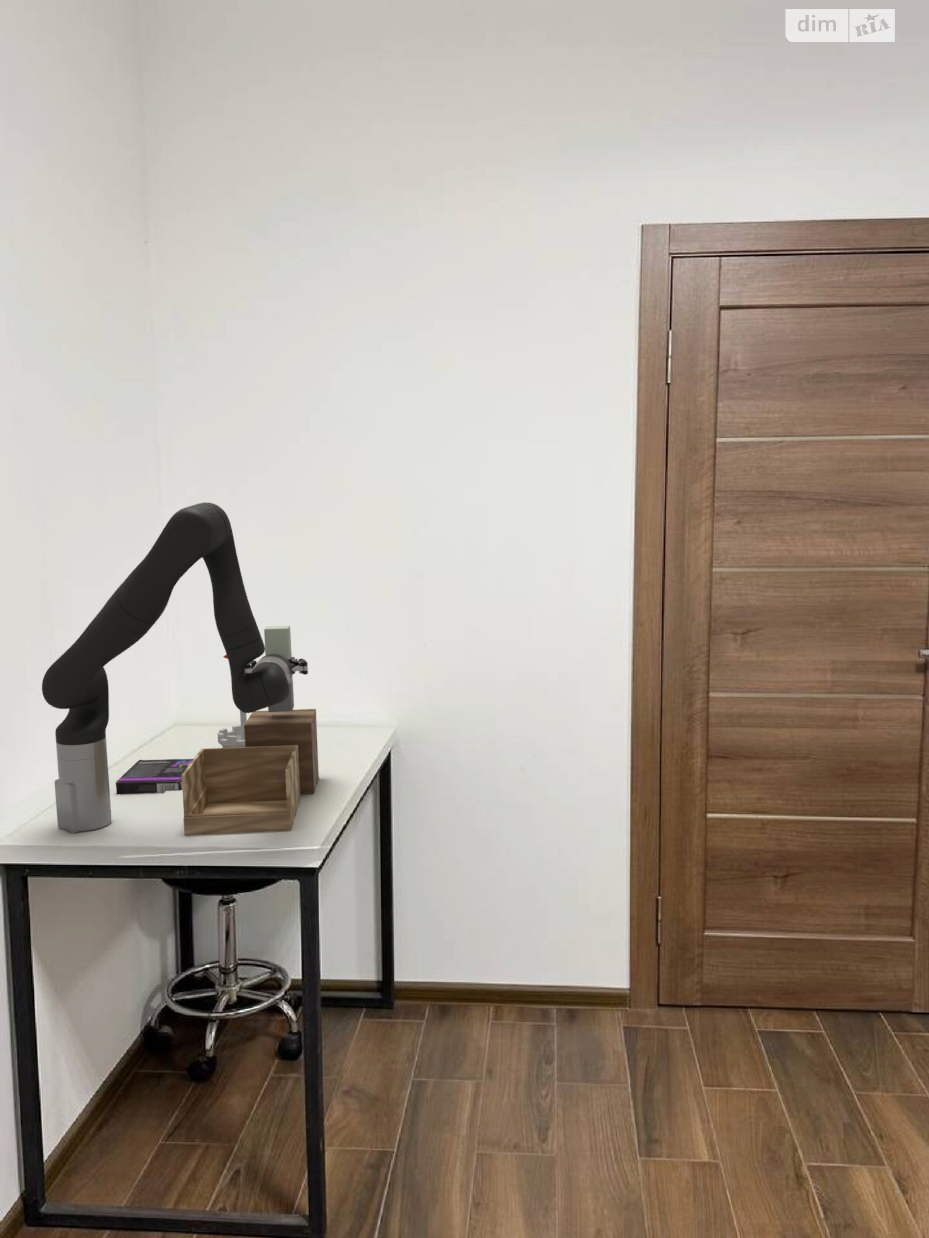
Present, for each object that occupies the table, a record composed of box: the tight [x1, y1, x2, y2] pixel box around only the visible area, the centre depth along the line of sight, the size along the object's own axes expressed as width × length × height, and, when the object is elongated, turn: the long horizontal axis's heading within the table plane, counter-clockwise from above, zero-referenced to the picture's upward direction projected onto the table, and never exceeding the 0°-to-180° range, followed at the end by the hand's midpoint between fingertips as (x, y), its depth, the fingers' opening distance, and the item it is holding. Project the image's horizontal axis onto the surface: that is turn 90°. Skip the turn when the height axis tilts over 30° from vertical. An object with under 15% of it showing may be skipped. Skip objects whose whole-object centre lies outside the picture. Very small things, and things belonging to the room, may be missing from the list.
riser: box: [244, 708, 320, 796], centre depth 224 cm, size 14×14×16 cm
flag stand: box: [217, 654, 248, 748], centre depth 256 cm, size 13×13×30 cm
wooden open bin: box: [181, 745, 301, 836], centre depth 204 cm, size 21×20×12 cm
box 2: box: [263, 625, 295, 712], centre depth 221 cm, size 5×5×18 cm
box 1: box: [115, 758, 194, 795], centre depth 233 cm, size 14×4×20 cm
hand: (280, 662), depth 224 cm, fingers closed on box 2, 5 cm apart
